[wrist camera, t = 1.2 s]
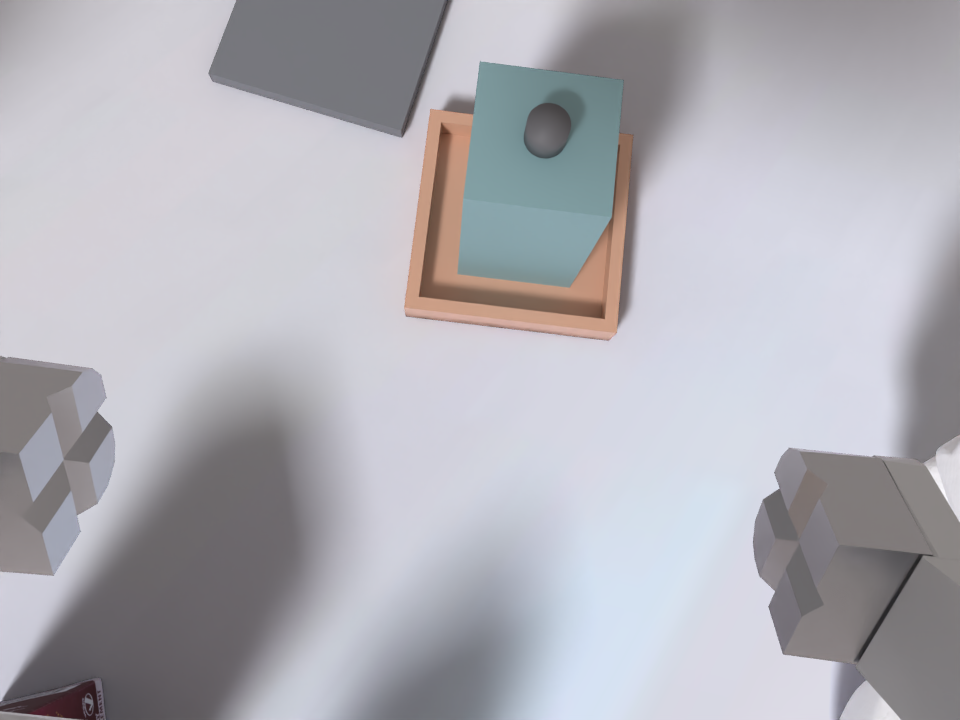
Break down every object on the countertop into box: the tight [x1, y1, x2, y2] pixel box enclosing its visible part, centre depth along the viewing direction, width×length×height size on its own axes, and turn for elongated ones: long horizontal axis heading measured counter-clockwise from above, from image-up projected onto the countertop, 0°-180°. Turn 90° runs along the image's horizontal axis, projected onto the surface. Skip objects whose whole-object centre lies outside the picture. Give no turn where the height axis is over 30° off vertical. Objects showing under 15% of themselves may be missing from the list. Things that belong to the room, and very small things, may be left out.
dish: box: [404, 109, 633, 341], centre depth 40 cm, size 10×10×3 cm
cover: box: [457, 62, 624, 288], centre depth 35 cm, size 6×6×11 cm
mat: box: [208, 0, 448, 138], centre depth 42 cm, size 10×9×1 cm
